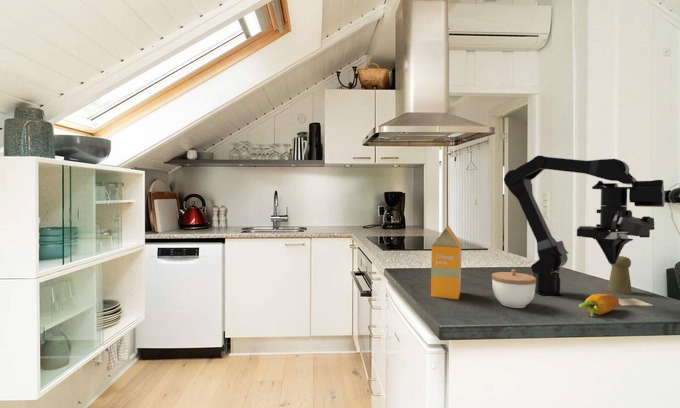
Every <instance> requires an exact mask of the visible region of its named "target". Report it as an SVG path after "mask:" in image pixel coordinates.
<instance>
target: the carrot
mask: <svg viewBox="0 0 680 408" xmlns="http://www.w3.org/2000/svg"><path fill="white" fill-rule="evenodd" d="M618 299H619V298H618V297H616V296H615V295H613V294H607V293H595V294H594V293H593V294H591V295H590V296H588V297H587V298H586V299H585V301H584V302H582V303H579V305H578V308H579V309H587V310H588V311H589V312H590V317H592V318H593V317H594V314H596V315H598V316H601V315H604V314H608V313H609V312H610V313H611V311H613V310H614V309H616V308H617V307H619V305H620V304H619V300H618Z"/></svg>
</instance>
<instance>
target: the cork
mask: <svg viewBox="0 0 680 408" xmlns="http://www.w3.org/2000/svg"><path fill="white" fill-rule="evenodd" d="M610 265H611V269H610V275H609V279H608V280H609V281H608V285H607V291H608V292H610V293H613V294H619V295H627V296H628V295H633V291H632V282H631V276H630V269H629V268H630V267H631V265H632V261H631V259H630V258H629V257H626V256H623V255H622V256H621V255H619V257H618V259H617V261H616V263H615V264H610Z"/></svg>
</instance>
